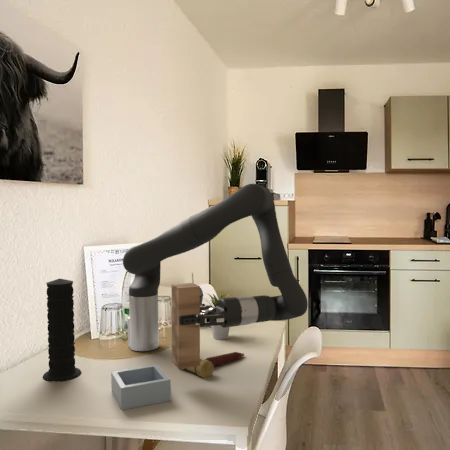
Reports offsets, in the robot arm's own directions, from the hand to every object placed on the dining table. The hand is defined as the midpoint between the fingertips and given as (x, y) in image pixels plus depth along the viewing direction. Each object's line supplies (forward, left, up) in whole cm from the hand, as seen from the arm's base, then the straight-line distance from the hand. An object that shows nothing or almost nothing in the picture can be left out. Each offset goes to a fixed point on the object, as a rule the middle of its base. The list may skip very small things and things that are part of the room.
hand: (176, 317), depth 116 cm
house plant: (-20, +43, -18) cm, 51 cm away
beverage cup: (-37, +49, -18) cm, 64 cm away
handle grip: (-32, -11, -18) cm, 39 cm away
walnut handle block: (+1, +2, -12) cm, 12 cm away
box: (-4, -8, -18) cm, 20 cm away
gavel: (-3, +20, -19) cm, 27 cm away
